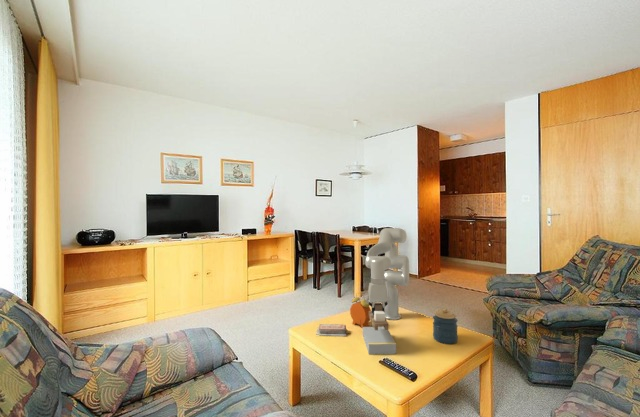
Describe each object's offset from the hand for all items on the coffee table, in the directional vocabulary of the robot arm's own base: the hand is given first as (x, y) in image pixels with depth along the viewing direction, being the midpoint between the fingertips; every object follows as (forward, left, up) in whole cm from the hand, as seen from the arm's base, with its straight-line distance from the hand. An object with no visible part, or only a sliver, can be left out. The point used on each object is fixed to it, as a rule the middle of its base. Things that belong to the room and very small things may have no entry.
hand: (378, 314), depth 161 cm
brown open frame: (0, 0, -5) cm, 5 cm away
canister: (-5, +39, -17) cm, 43 cm away
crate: (+4, 0, -2) cm, 4 cm away
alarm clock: (-26, -6, -17) cm, 32 cm away
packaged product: (-15, -25, -17) cm, 34 cm away
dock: (0, 0, -17) cm, 17 cm away
